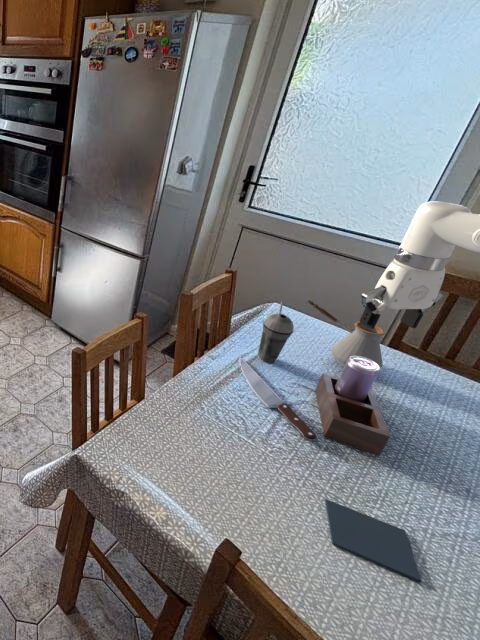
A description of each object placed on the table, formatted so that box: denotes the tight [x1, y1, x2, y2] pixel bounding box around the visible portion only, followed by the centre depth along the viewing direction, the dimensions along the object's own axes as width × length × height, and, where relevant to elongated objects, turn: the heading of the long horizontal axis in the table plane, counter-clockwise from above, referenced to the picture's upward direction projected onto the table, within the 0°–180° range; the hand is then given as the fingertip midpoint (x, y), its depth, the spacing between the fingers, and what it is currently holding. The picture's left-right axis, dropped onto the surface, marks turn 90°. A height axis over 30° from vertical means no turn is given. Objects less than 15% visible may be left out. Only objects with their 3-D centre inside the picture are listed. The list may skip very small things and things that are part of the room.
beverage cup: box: [257, 301, 295, 364], centre depth 121 cm, size 7×7×20 cm
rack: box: [314, 372, 391, 456], centre depth 102 cm, size 18×10×6 cm, turn 148°
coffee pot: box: [303, 300, 386, 369], centre depth 123 cm, size 21×12×15 cm, turn 38°
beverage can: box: [333, 356, 381, 403], centre depth 103 cm, size 6×6×15 cm
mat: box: [324, 498, 422, 583], centre depth 78 cm, size 12×10×1 cm
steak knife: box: [238, 356, 317, 442], centre depth 111 cm, size 5×31×2 cm, turn 179°
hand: (386, 325), depth 96 cm, fingers open, 9 cm apart
